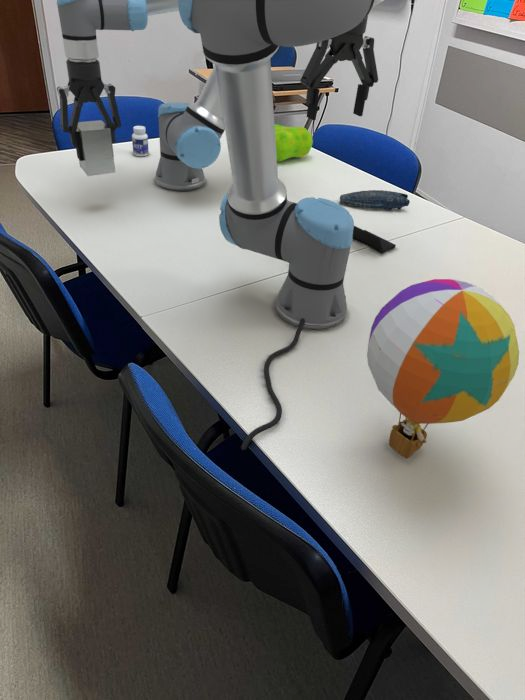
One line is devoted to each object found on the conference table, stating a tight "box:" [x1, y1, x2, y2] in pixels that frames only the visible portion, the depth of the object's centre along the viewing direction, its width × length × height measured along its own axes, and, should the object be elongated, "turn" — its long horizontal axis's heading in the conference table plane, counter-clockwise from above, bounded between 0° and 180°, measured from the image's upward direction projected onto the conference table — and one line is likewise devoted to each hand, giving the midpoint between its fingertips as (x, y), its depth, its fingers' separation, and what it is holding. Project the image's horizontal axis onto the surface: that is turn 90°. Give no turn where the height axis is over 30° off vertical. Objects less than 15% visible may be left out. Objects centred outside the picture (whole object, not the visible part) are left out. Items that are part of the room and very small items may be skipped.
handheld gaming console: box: [352, 225, 397, 255], centre depth 137 cm, size 12×7×10 cm
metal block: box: [77, 119, 116, 177], centre depth 135 cm, size 7×7×11 cm
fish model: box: [339, 189, 411, 211], centre depth 158 cm, size 7×21×5 cm, turn 84°
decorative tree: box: [274, 123, 314, 163], centre depth 185 cm, size 18×10×30 cm
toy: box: [366, 278, 520, 459], centre depth 74 cm, size 20×20×30 cm
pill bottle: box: [131, 125, 150, 157], centre depth 178 cm, size 5×5×9 cm
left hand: (95, 157), depth 136 cm, fingers closed on metal block, 7 cm apart
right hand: (334, 116), depth 123 cm, fingers open, 13 cm apart
